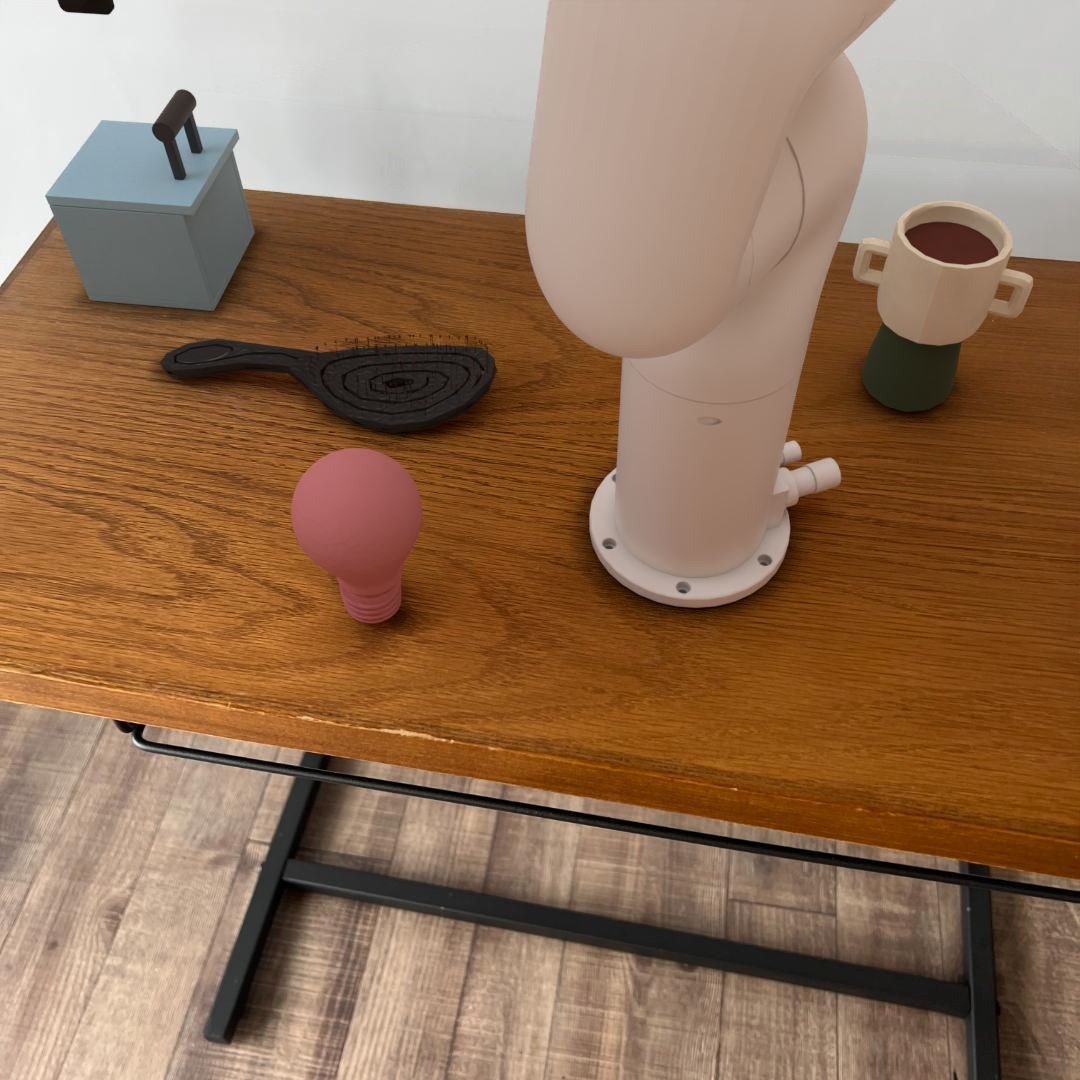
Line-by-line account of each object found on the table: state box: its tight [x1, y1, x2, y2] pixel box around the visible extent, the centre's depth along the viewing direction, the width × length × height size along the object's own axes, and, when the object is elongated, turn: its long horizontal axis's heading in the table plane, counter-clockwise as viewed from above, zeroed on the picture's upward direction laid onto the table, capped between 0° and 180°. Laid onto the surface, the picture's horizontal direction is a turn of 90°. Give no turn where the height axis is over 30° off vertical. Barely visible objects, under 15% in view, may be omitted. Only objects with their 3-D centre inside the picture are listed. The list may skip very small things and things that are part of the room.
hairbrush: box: [160, 333, 498, 434], centre depth 77 cm, size 8×4×25 cm
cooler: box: [49, 149, 256, 312], centre depth 84 cm, size 10×10×9 cm
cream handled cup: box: [852, 199, 1034, 413], centre depth 72 cm, size 11×7×13 cm, turn 66°
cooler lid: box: [44, 88, 240, 216], centre depth 79 cm, size 11×10×5 cm
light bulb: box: [290, 447, 423, 624], centre depth 61 cm, size 7×7×12 cm
